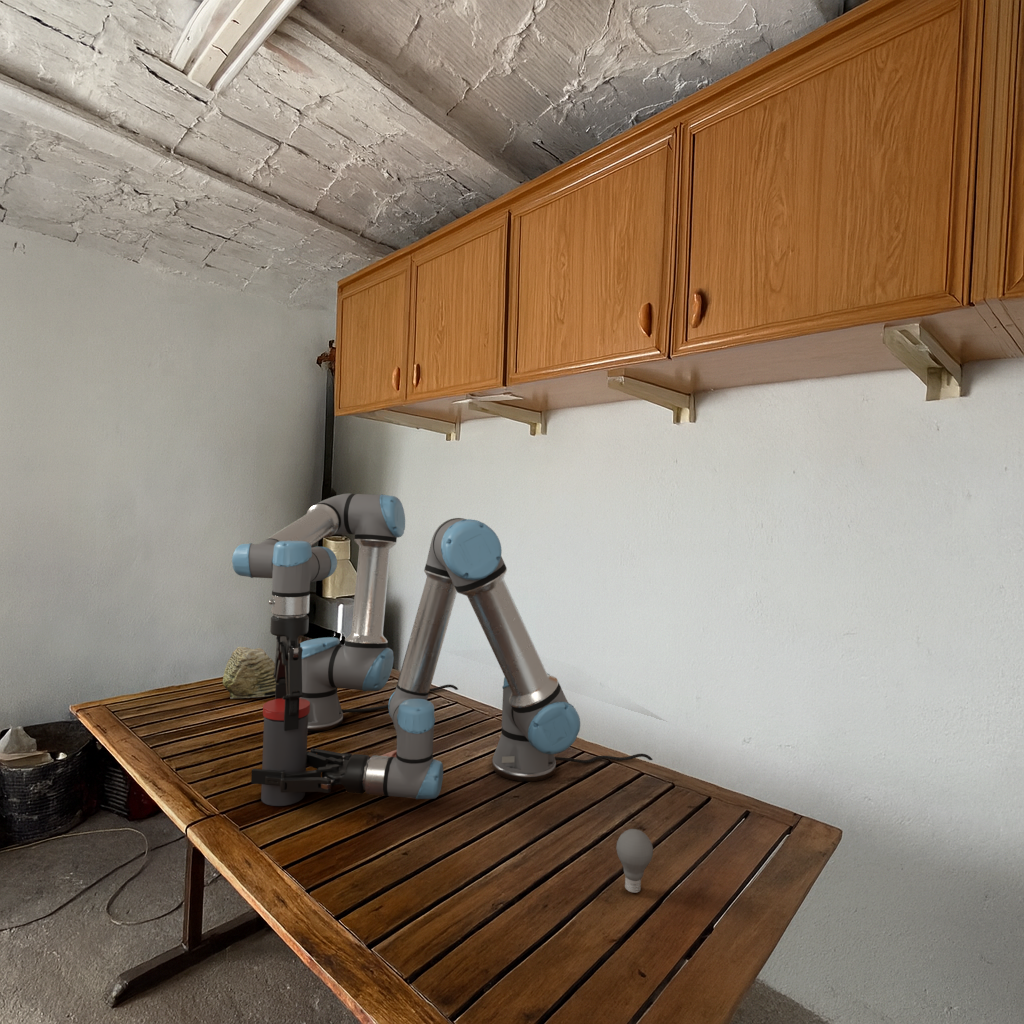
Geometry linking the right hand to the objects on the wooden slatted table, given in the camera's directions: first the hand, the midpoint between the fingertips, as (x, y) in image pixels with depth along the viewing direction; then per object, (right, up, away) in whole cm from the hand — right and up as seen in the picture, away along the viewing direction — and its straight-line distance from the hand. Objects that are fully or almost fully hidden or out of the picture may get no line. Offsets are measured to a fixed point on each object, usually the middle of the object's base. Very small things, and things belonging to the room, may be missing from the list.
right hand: (263, 766), depth 134 cm
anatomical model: (+22, -7, +15) cm, 28 cm away
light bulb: (+73, -10, -28) cm, 78 cm away
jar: (+4, -6, 0) cm, 8 cm away
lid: (+5, +13, -1) cm, 14 cm away
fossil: (-28, -4, +64) cm, 70 cm away
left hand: (+5, +10, -1) cm, 11 cm away
